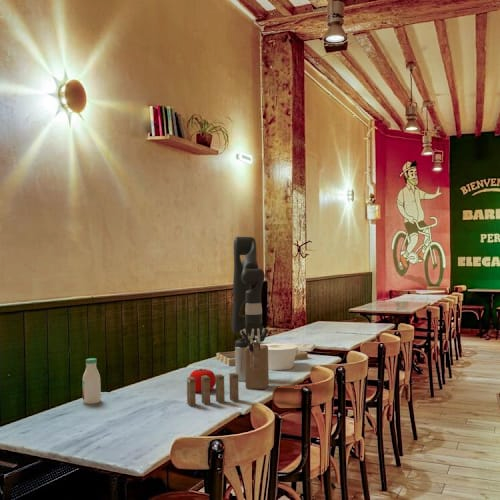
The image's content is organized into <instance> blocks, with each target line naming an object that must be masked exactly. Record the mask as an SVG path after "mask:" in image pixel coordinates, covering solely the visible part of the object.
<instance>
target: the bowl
mask: <svg viewBox="0 0 500 500" xmlns="http://www.w3.org/2000/svg"><path fill="white" fill-rule="evenodd" d="M260 344H261V343H260ZM295 344H296V343H286V342H284V343H283V342H276V343H274V342H272V343H271V342H270V343H262V344H261V345H267V346H268V371H286V370H291V369H293V367H294V363H295V361H296V360H295V356H296V352H297V348H298V346H297V345H295Z"/></svg>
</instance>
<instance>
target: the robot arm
mask: <svg viewBox="0 0 500 500" xmlns="http://www.w3.org/2000/svg"><path fill="white" fill-rule="evenodd" d="M257 255H258V254H257V243H256V239H255V237H254V236H253V237H252V236H235V238H234V239H233V282H232V283H233V284H232V285H233V287H232V299H233V302H232V315H231V316H232V317H231V331H232V333H233V334H240V336H241V338H239V339H236V340H235V341H234V351H235V358H234V359H235V369H234V370H235V373H236V374H238V382H245V348H246V347H247V346H249V351H250V352H253V344H252V343H253V342H254V339H255V342H257V343H259V350H260V344H261V343H262V342H264V341H265V339H266V337H267V334H268V333H269V329H268V328H265V327H264V326H263V307H262V290H263V289H262V288H263V285H264V281H265V276H266V275H265V272H264V270H263V269H262V268H259V264H258V260H257V259H258V257H257ZM241 256H244V257H243V259H242V260H241ZM252 285H256V286H255V287H254V288H252ZM244 304H245V308H244V312H245V315H240V313H241V310H242V308H243V306H244Z"/></svg>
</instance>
